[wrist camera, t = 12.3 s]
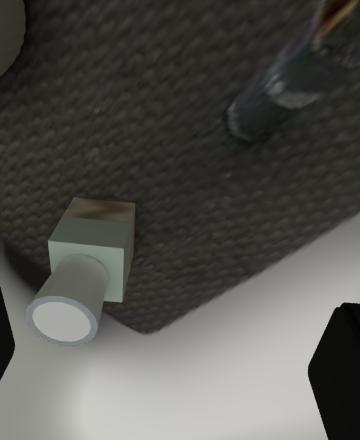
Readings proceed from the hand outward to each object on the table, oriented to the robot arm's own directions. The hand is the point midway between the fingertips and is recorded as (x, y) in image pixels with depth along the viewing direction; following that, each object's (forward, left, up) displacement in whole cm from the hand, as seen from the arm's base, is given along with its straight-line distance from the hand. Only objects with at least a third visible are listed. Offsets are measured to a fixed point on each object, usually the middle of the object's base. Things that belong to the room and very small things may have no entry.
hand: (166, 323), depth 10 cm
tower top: (+9, +19, -27) cm, 34 cm away
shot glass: (+9, +19, -22) cm, 31 cm away
